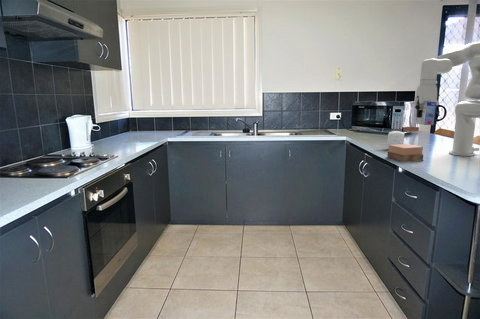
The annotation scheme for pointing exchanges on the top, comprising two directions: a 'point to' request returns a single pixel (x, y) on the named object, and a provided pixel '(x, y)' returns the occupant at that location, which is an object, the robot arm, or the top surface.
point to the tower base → (405, 157)
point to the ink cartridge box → (426, 114)
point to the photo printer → (395, 138)
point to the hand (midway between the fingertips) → (424, 117)
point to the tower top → (405, 149)
